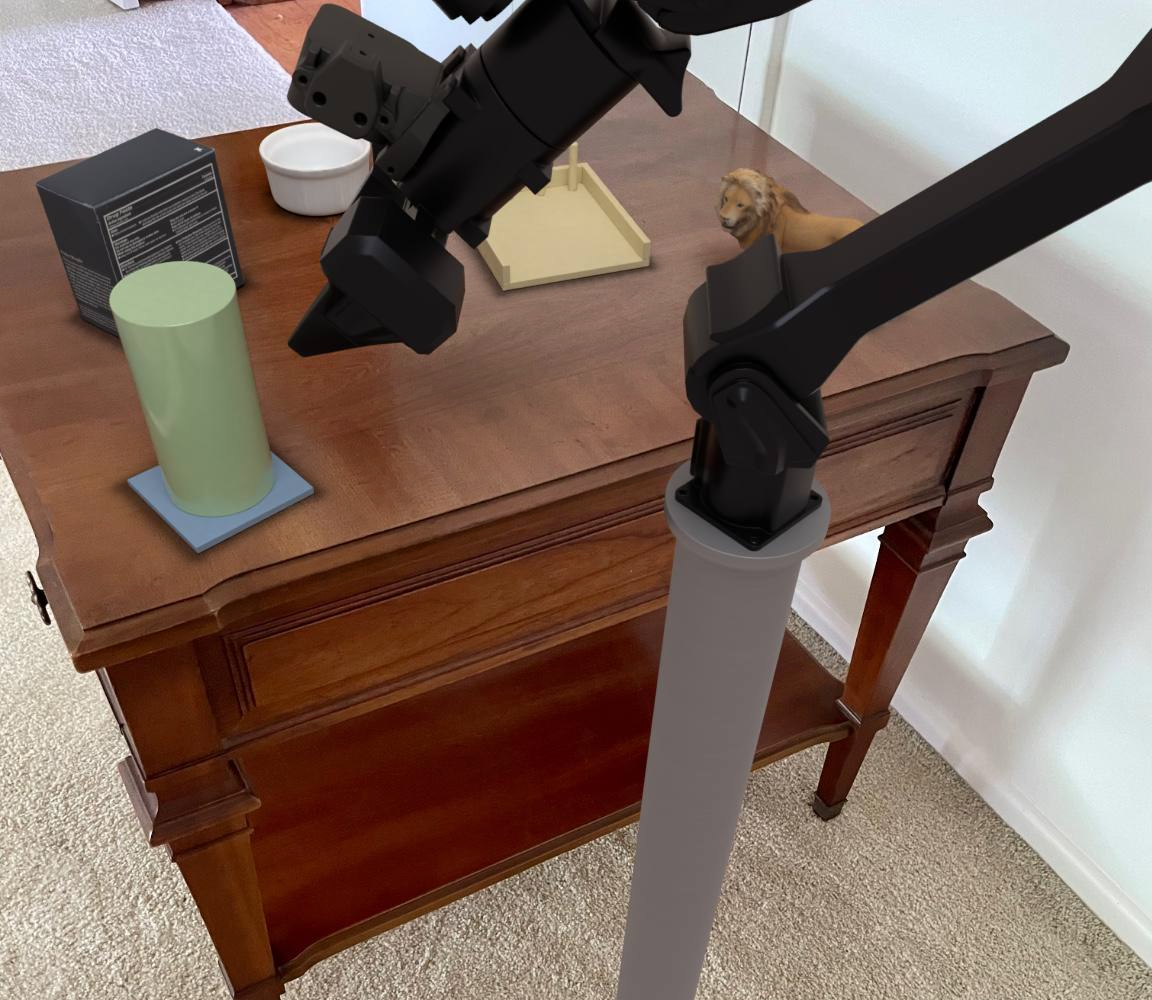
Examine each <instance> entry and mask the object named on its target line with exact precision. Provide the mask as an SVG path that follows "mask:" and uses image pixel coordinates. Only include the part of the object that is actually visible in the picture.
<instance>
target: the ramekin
mask: <svg viewBox="0 0 1152 1000" xmlns="http://www.w3.org/2000/svg"><path fill="white" fill-rule="evenodd" d="M371 149H372V144H371V142H368V141H366V140H364V139H358V140H355V139H352V138H350V137H348V136H346V135H344V134H342V133H340V132H338V131H336V130H334V129H332V128H330V127H327V126H325V125H323V124H321V123H319V122H307V123H300V124H294V125H290V126H287V127H282V128H280V129H278V130H275V131H273V132H272V133H270V134H269V135H267V136H265V137H264V139H263V140H262V141H261V142H260V145H259V149H258V152H259V155H260V159H261V161H262V163H263V165H264V168H265V172H266V175H267V180H268V183H269V187H270V191H271V195H272V197H273V200H274V201H275V203H276V204H277V205H279V206H280V207H281V208H282V209H285V210H286V211H288V212H290V213H294V214H298V215H303V216H310V217H311V216H312V217H320V216H332V215H337V214H341V213H345V212H346V210H347V208H348V207H349V205H350V203H351V202H352V200H353V198H354V197H355V195H356V193H357V192H358V190H359V188H360V186H361V185H362V183H363V181H364V180H365V178H366V176H367V175H368V173H369V171H370V154H371Z"/></svg>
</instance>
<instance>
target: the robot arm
mask: <svg viewBox="0 0 1152 1000" xmlns="http://www.w3.org/2000/svg"><path fill="white" fill-rule="evenodd" d="M431 1H432V2H433V3H434V5H436V6H437V8H439V10H440V11H441V12H442V13H443V14H444V15H445V16H446V17H447V18H448V19H449V20H450V21H455V20H456V19H459V18H460V17H462V18H463V20H464V21H466V23H467V24H468V25H469V26H472V25H473V24H474V23H475V22H476V21H477V20H479V19H480V18H481V19H482V20H483V21H484V22H486V23H487V22H490V21H492V20H493V19H495V18H496V17H498V16H499V15H500V14H501V13H502V12H503V11H504V10H506V9H507V8H508V7H509V6H510V5H511V4H512V2H514V0H431ZM812 1H813V0H523V2H522V3H521V4H520V5H519V6H518V7H517V8H516V9H515V10H514V11H513V12H512V13H511V14H510V15H509V16H508V17H507V18H506V19H505V20H504V21H503V22H502V23H501V24H500V25H499V26H498V28H496V29H495V30H494V31H493V33H492V34H491V35H490V36H488V37H487V39H485V41H484V42H483V43H481V45H480V46H478V48H476V47H475V46H474V44H473V43H472V42H470V43H469V44H468V45H467V46H466V47H463V46H462V45H461V44H459V45H457V47H455V49H453V51H452V52H450V54H449V55H448V56H447V57H446V58H444V59H443V60H442V61H441V62H440V61H439V60H437V59H435V58H434V57H432V56H431V55H429V54H427V53H425V52H424V51H421V50H420V49H419V48H418V47H417V46H416V45H414V44H413V43H411V42H410V41H408V39H406V38H403V37H401V36H400V35H398V34H395V33H393V32H392V31H390V30H387V29H386V28H384V27H382V26H380V25H378V24H376V23H375V22H372V21H371V20H369V19H367V18H365V17H364V16H361V15H359V14H357V13H355V12H354V11H352V10H349V9H348V8H346V7H343V6H341V5H339V4H334V3H327V2H326V3H323V4H321V6H320V7H319V9H318V11H317V13H316V14H315V15H314V18H313V19H312V21H311V23H310V24H309V26H308V28H307V30H306V34H305V36H304V40H303V43H302V46H301V48H300V53H299V56H298V59H297V62H296V64H295V68H294V70H293V72H292V75H291V81H290V84H289V87H288V90H287V94H286V100H287V102H288V104H289V105H290V106H291V107H292V108H293V109H294V110H295V111H297V112H298V113H300V114H301V115H303V116H306V117H308V118H309V119H311V120H313V121H315V122H316V123H321V124H323V125H325V126H327V127H330V128H332V129H334V130H336V131H338V132H340V133H342V134H344V135H346V136H348V137H350V138H352V139H355V140H358V139H364V140H366V141H368V142H370V144H371V150H372V151H371V152H372V166H371V167H370V168H369V173H368V175H367V176H366V178H365V180H364V181H363V183H362V185H361V186H360V188H359V190H358V192H357V193H356V195H355V197H354V198H353V200H352V202H351V203H350V205H349V207H348V208H347V210H346V211H345V212H343V214H342V216H341V217H340V218H339V220H338V221H337V223H336V224H335V225H334V226H330V229H329V232H328V235H327V237H326V240H325V242H324V245H323V246H322V249H321V252H320V255H319V266H320V269H321V272H322V273H323V275H324V276H325V278H326V279H327V282H326V283H325V285H323V287H322V288H321V290H320V292H319V293H318V294H317V296H316V297H315V299H314V300H313V302H312V303H311V304H310V306H309V308H307V311H305V313H304V315H303V316H302V318H301V320H300V321H298V324H297V326H296V327H295V328H294V330H293V331H292V333H291V335H290V336H289V337H288V340H287V346H288V348H289V349H290V350H292V351H293V352H295V353H296V354H297V355H298V356H299V357H301V358H311V357H316V356H320V355H321V356H322V355H326V354H327V355H328V354H332V353H337V352H338V353H339V352H343V351H348V350H353V349H359V348H364V347H365V348H366V347H371V346H380V345H390V344H400V343H401V344H403V345H404V346H406V347H408V348H409V349H411V350H412V351H413V352H415V354H417V355H425V356H430V355H432V353H433V352H435V351H436V350H437V349H438V348H439V347H441V346H442V345H443V344H444V343H445V342H446V341H448V340H449V339H450V338H451V337H452V336H453V335H455V334H456V333H457V331H458V326H459V323H460V317H461V313H462V309H463V304H464V298H465V294H466V274H465V265H464V264H463V263H462V262H460V261H459V260H458V259H457V258H456V257H455V256H454V255H453V254H452V253H451V252H450V251H449V250H448V249H446V247H447V244H448V240H449V236H450V235H451V234H452V233H453V232H454V233H455V234H456V235H457V236H459V238H461V239H462V240H463V241H464V242H465V243H466V244H467V245H468V246H469V247H470V248H471V249H472V250H476V248H477V246H479V245H480V244H481V243H482V242H483V241H484V240H485V239H486V238H488V236H489V231H490V226H491V221H492V216H493V215H494V214H496V213H497V212H498V211H499V210H500V209H501V208H502V207H503V206H504V205H506V204H507V203H508V202H509V201H510V200H511V199H512V198H513V197H514V196H516V195H517V194H518V193H519V192H520V191H521V190H522V189H523V188H524V187H527V188H528V189H529V190H530V191H531V192H532V193H533V194H534V195H536V194H537V193H538V192H539V191H541V190H542V189H543V188H544V187H545V186H546V185H547V184H548V183H550V182H551V176H552V169H553V167H554V163H555V161H556V160H557V159H558V158H559V157H560V156H561V155H562V154H564V153H565V152H566V151H567V150H569V147H570V146H571V145H572V144H573V143H574V142H577V140H579V139H580V138H581V137H582V136H583V135H584V134H585V133H587V132H588V131H589V130H590V129H591V128H592V127H593V126H594V125H596V124H597V123H598V122H599V121H600V120H601V119H602V118H603V117H604V116H605V115H607V114H608V113H609V112H610V111H611V110H612V109H613V108H614V107H615V106H617V105H618V104H619V103H620V102H621V101H622V100H623V99H624V98H626V96H628V95H629V94H630V93H631V92H632V91H634V89H635V88H636V87H638V86H639V85H640V86H641V87H642V88H643V89H644V90H645V92H646V93H647V94H648V95H649V96H650V97H651V98H652V99H653V101H654V102H655V103H656V104H657V105H658V106H659V108H660V109H661V111H663V113H664V114H665V115H666V116H667V117H670V118H676V117H678V116H680V115H681V114H682V111H683V88H684V80H685V75H686V72H687V68H688V65H689V62H690V60H691V58H692V37H691V36H693V37H699V36H706V35H711V34H716V33H718V32H719V33H720V32H722V31H726V30H731V29H734V28H738V27H742V26H747V25H751V24H754V23H758V22H762V21H766V20H767V21H768V20H770V19H774V18H778V17H781V16H783V15H785V14H788V13H790V12H791V11H793V10H796V9H798V8H800V7H802V6H804V5H806V4H809V3H811V2H812ZM656 24H657V25H658V26H657V25H656ZM1150 183H1152V27H1150V29H1149V30H1148V32H1147V33H1146V34H1145V35H1144V36H1143V37H1142V38H1141V40H1140V41H1139V42H1138V43H1137V45H1136V46H1135V47H1134V49H1132V51H1131V52H1130V53H1129V55H1128V56H1127V57H1126V58H1125V60H1123V62H1122V63H1121V65H1119V67H1118V68H1117V69H1116V70H1115V72H1114V73H1113V74H1112V75H1111V76H1110V77H1109V78H1108V79H1107V80H1106V81H1104V82H1103V83H1102V84H1101V85H1100V86H1098V87H1096V88H1094V89H1093V90H1092V91H1090V92H1088V93H1086V94H1085V95H1083V96H1081V97H1080V98H1078V99H1077V100H1075V101H1073V102H1071V103H1069V104H1068V105H1066V106H1065V107H1063V108H1061V109H1059V110H1057V111H1056V112H1054V113H1053V114H1050V115H1049V116H1047V117H1046V118H1043V120H1040V121H1039V122H1037V123H1035V124H1034V125H1032V126H1031V127H1028V128H1027V129H1025V130H1023V131H1021V132H1020V133H1018V134H1017V135H1015V136H1012V137H1011V138H1010V139H1008V140H1006V141H1005V142H1003V143H1001V144H999V145H997V146H996V147H995V148H993V149H991V150H989V151H988V152H986V153H984V154H982V155H981V156H979V157H977V158H976V159H974V160H972V161H971V162H968V163H967V164H966V165H963V166H962V167H960V168H959V169H957V170H955V171H953V172H952V173H950V174H949V175H946V176H945V177H943V178H942V179H940V180H938V181H936V182H935V183H932V184H931V185H930V186H927V187H926V188H924V189H922V190H921V191H920V192H917V193H916V194H915V195H912V196H911V197H909V198H908V199H905V200H904V201H902V202H900V203H899V204H897V205H896V206H894V207H892V208H891V209H889V210H887V211H885V212H883V213H882V214H880V215H878V216H877V217H875V218H873V219H871V220H870V221H868V222H867V223H864V224H865V225H863V226H861V227H860V228H858V229H856V230H855V231H853V232H851V233H849V234H848V235H846V236H844V237H843V238H841V239H839V240H837V241H836V242H834V243H832V244H831V245H829V246H826V247H824V248H821V249H818V250H813V251H803V252H793V253H782V251H781V249H780V246H779V244H778V241H777V239H776V236H775V235H774V234H772V233H769V234H767V235H765V236H763V237H761V238H759V239H758V240H756V241H755V242H754V243H753V244H752V245H751V246H749V247H748V248H747V249H746V250H745V249H744V250H743V251H741V253H739V254H738V255H737V256H734V257H732V258H731V259H728V260H726V261H725V262H722V263H716V264H711V265H707V266H706V267H705V281H704V282H703V283H701V285H699V286H698V287H697V288H696V289H694V290H693V291H692V293H691V295H689V297H688V298H687V304H686V306H685V309H684V310H685V311H684V315H683V318H682V327H683V328H682V331H683V335H682V336H683V362H684V363H683V366H684V387H685V395H686V399H687V400H688V402H689V404H690V407H691V408H692V409H693V411H694V412H696V414H698V415H699V416H700V417H699V418H697V419H696V421H695V428H694V433H693V434H694V435H693V442H692V449H691V456H690V459H691V463H690V475H692V476H693V477H694V478H693V479H691V480H690V481H688V482H687V483H685V484H684V485H682V486H680V487H679V488H677V489H676V491H675V500H676V501H677V502H679V503H680V504H682V505H683V506H685V507H686V508H688V509H689V510H690V511H692V512H693V513H695V514H696V515H698V516H699V517H701V518H702V519H704V520H705V521H707V522H708V523H710V524H711V525H712V526H714V527H715V528H717V529H718V530H720V531H721V532H723V533H724V534H726V535H727V536H729V537H730V538H732V539H733V540H734V541H736V542H737V543H739V544H740V545H742V546H743V547H745V548H746V549H748V550H750V551H759V550H761V549H762V548H763V547H765V546H766V545H768V544H769V543H770V542H772V541H773V540H775V539H776V538H777V537H779V536H780V535H782V534H783V533H784V532H786V531H787V530H789V529H790V528H791V527H793V526H794V525H796V524H797V523H798V522H800V521H801V520H803V519H804V518H805V517H807V516H808V515H810V514H811V513H812V512H814V511H815V510H817V509H818V508H819V507H820V506H821V504H822V500H823V498H822V496H821V495H820V494H818V493H817V492H815V491H813V490H812V489H811V487H812V483H813V479H814V477H815V474H816V470H817V466H818V461H819V458H820V457H821V456H822V454H823V453H825V450H826V449H827V448H828V446H829V444H830V436H829V430H828V424H827V418H826V413H825V408H824V401H823V395H822V389H821V388H822V387H823V386H824V385H825V383H826V382H827V381H828V380H829V378H830V377H831V376H832V374H834V372H835V371H836V370H837V368H838V367H839V366H840V365H841V364H842V362H843V361H844V360H845V359H846V358H847V356H848V355H849V354H850V352H851V351H852V350H853V349H854V348H855V346H856V345H857V344H858V342H859V341H860V340H862V339H863V338H864V337H865V336H867V335H869V334H870V333H872V332H873V331H875V330H877V329H879V328H881V327H883V326H884V325H886V324H888V323H890V322H892V321H893V320H896V319H898V318H900V317H901V316H903V315H905V314H907V313H909V312H911V311H912V310H914V309H916V308H918V307H920V306H922V305H923V304H925V303H927V302H929V301H932V300H933V299H935V298H937V297H939V296H941V295H942V294H944V293H946V292H947V291H950V290H951V289H953V288H955V287H957V286H959V285H961V284H963V283H964V282H967V281H968V280H970V279H972V278H974V277H976V276H977V275H979V274H981V273H983V272H985V271H987V270H988V269H990V268H992V267H994V266H996V265H998V264H1000V263H1002V262H1004V261H1005V260H1008V259H1009V258H1011V257H1013V256H1015V255H1016V254H1019V253H1020V252H1022V251H1024V250H1026V249H1028V248H1029V247H1031V246H1033V245H1036V244H1037V243H1039V242H1040V241H1043V240H1044V239H1047V238H1048V237H1050V236H1052V235H1055V233H1058V232H1059V231H1061V230H1063V229H1065V228H1067V227H1069V226H1070V225H1073V224H1074V223H1076V222H1078V221H1080V220H1082V219H1083V218H1086V217H1088V216H1089V215H1091V214H1093V213H1094V212H1096V211H1098V210H1100V209H1102V208H1105V207H1106V206H1108V205H1110V204H1111V203H1113V202H1115V201H1117V200H1119V199H1121V198H1123V197H1125V196H1126V195H1128V194H1130V193H1132V192H1134V191H1135V190H1138V189H1140V188H1141V187H1143V186H1145V185H1148V184H1150ZM813 500H814V501H813ZM752 542H754V543H752Z"/></svg>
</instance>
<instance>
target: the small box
mask: <svg viewBox="0 0 1152 1000" xmlns="http://www.w3.org/2000/svg"><path fill="white" fill-rule="evenodd" d="M220 175H221V174H220V171H219V166H218V161H217V153H216V149H215V148H213V147H211V146H207V145H205V144H202V143H200V142H196V141H194V140H191V139H188V138H185V137H183V136H180V135H178V134H175V133H172V132H170V131H167V130H164V129H161V128H158V127H155V128H153V129H150V130H149V131H146V132H144V133H142V134H139V135H136V136H135V137H133V138H130V139H128V140H126V141H124V142H122V143H120V144H117V145H114V146H113V147H111V148H108V149H106V150H104V151H102V152H100V153H98V154H95V155H93V156H91V157H89V158H86V159H83V160H81V161H80V162H78V163H77V162H76V163H75V164H73V165H70V166H68V167H66V168H63V169H62V170H60V171H57V172H55V173H53V174H51V175H49V176H46V177H45V178H42V179H40V180H37V181H35V183H34V184H35V187H36V190H37V194H38V196H39V198H40V200H41V201H40V202H41V204H42V206H43V209H44V213H45V216H46V218H47V221H48V224H49V228H50V230H51V232H52V235H53V239H54V241H55V244H56V247H57V250H58V253H59V255H60V259H61V261H62V265H63V268H64V270H65V273H66V276H67V280H68V283H69V286H70V289H71V291H72V294H73V297H74V299H75V302H76V305H77V308H78V309H77V310H78V313H79V315H80V318H81V319H82V320H84V321H85V322H87V323H89V324H90V325H93V326H95V327H97V328H99V329H101V330H103V331H105V332H107V333H109V334H111V335H113V336H115V337H117V338H119V339H120V337H119V333H118V330H117V327H116V324H115V320H114V317H113V314H112V310H111V307H110V304H109V298H110V294H111V292H112V290H113V288H114V287H115V285H116V284H117V283H118V282H119V281H121V280H122V279H123V278H125V277H126V276H128V275H129V274H131V273H133V272H135V271H137V270H140V269H142V268H145V267H148V266H152V265H156V264H160V263H166V262H174V261H193V262H201V263H206V264H210V265H213V266H216V267H218V268H221V269H222V270H224V271H226V272H227V273H228V274H229V275H230V276H231V277H232V278H233V280H234V282H235V285H236V289H237V290H238V288H240V287H241V286H244V285H245V275H244V274H243V270H242V266H241V263H240V259H239V254H238V250H237V247H236V241H235V237H234V233H233V227H232V223H231V220H230V215H229V210H228V206H227V201H226V197H225V192H224V187H223V184H222V179H221V176H220Z"/></svg>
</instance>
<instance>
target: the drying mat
mask: <svg viewBox="0 0 1152 1000" xmlns="http://www.w3.org/2000/svg"><path fill="white" fill-rule="evenodd" d="M270 452H271V456H272V461H273V466H274V471H275V481H274V485H273V487H272V489H271V491H270V492H269V494H268V495H267V496H266V497H265V498H264V499H263V500H262V501H260V502H259V503H258V504H256V505H255V506H253V507H251V508H249V509H247V510H245V511H242V512H239V513H236V514H232V515H228V516H221V517H203V516H197V515H192V514H189V513H187V512H184V511H182V510H181V509H179V508H178V507H176V506H175V505H174V504H173V503H172V502H171V501H170V499H169V497H168V494H167V491H166V488H165V484H164V481H163V478H162V475H161V471H160V468H159V465H155V466H154V467H151V468H149V469H147V470H145V471H143V472H141V473H139V474H137V475H134V476H132V477H130V478H128V479H126V481H127V484H128V486H129V487H130V488H131V489H132V490H133V491H134V492H135V493H136V494H137V495H138V496H139V497H140V498H141V499H142V500H143V501H144V502H145V503H146V504H147V505H148V506H149V507H150V508H151V509H152V510H153V511H154V512H155V513H156V514H157V515H158V516H159V517H160V519H162V520H163V521H164V522H165V523H166V524H167V525H168V526H169V527H170V528H171V529H172V530H173V531H174V532H175V533H176V534H177V535H178V536H179V537H181V539H182V540H183V541H184V542H185V543H186V544H187V545H188V546H189V547H190V548H191V549H193V551H194V552H195V553H197V554H201V553H202V552H205V551H206V550H208V549H210V548H212V547H214V546H216V545H218V544H220V543H222V542H223V541H225V540H227V539H229V538H231V537H233V536H235V535H237V534H239V533H240V532H243V531H245V530H247V529H248V528H251V527H253V526H254V525H257V524H258V523H260V522H262V521H264V520H266V519H268V518H270V517H272V516H273V515H275V514H277V513H279V512H281V511H283V510H285V509H287V508H289V507H291V506H293V505H295V504H297V503H299V502H300V501H302V500H304V499H306V498H308V497H310V496H311V495H314V494H315V490H314V486H312V484H310V483H309V482H308V481H306V480H305V479H304V478H303V477H302V476H301V475H300V474H298V473H297V472H296V471H295V470H294V469H292V468H291V467H290V466H289V465H288V464H286V463H285V462H284V461H283V460H282V459H281V458H279V457H278V456H277V455H276V454H275V453H274V452H273V451H271V450H270Z"/></svg>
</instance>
